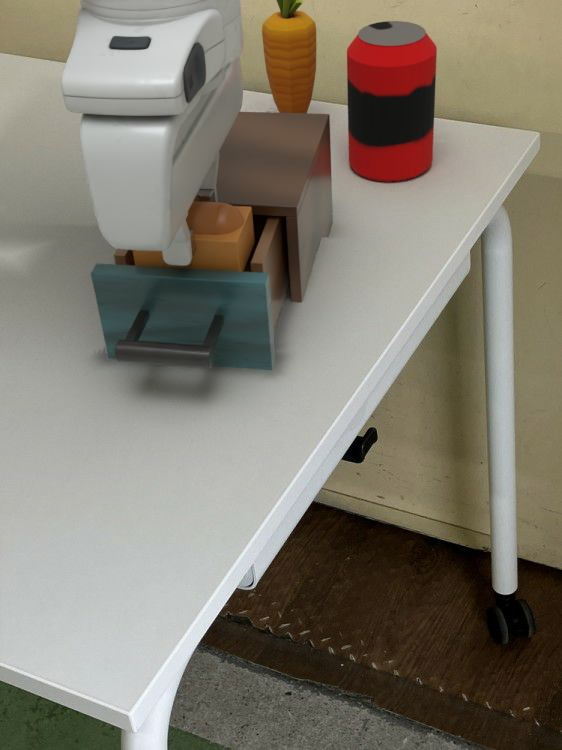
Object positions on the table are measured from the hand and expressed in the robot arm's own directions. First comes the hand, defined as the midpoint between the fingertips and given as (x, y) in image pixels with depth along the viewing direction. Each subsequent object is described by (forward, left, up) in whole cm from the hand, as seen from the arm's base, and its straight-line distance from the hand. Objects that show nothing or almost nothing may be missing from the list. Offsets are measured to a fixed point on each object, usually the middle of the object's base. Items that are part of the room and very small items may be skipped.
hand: (192, 236), depth 66 cm
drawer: (0, 0, -8) cm, 9 cm away
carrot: (0, +35, -10) cm, 36 cm away
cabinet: (0, +11, -9) cm, 15 cm away
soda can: (+10, +29, -10) cm, 32 cm away
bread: (0, 0, -2) cm, 2 cm away
